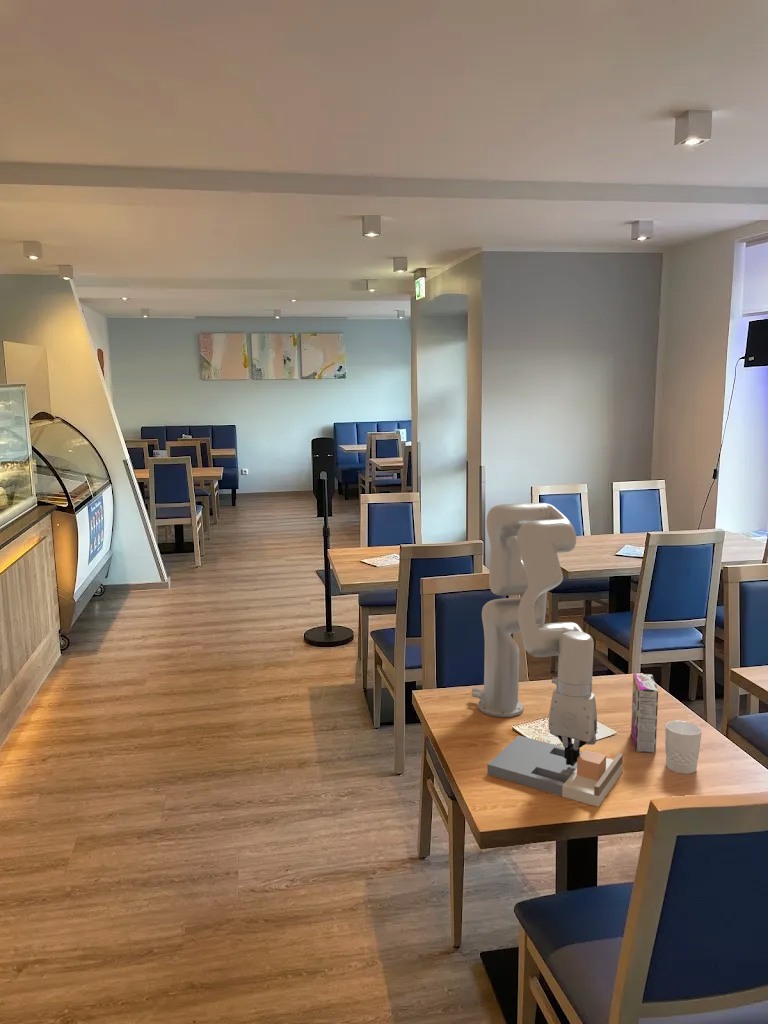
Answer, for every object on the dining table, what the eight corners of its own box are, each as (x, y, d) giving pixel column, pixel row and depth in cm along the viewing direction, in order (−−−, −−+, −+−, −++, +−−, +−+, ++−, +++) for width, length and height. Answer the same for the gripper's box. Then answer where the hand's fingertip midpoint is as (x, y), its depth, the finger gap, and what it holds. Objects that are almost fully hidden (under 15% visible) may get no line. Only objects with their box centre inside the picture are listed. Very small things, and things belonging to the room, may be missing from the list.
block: (576, 775, 169) (577, 758, 169) (584, 765, 173) (584, 749, 173) (598, 781, 167) (599, 764, 166) (605, 771, 171) (606, 755, 170)
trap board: (487, 774, 175) (487, 756, 174) (518, 744, 190) (518, 727, 189) (598, 807, 161) (599, 787, 160) (622, 772, 176) (623, 754, 175)
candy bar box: (629, 732, 196) (632, 672, 194) (649, 734, 195) (652, 673, 193) (634, 752, 186) (638, 688, 183) (656, 754, 185) (659, 690, 182)
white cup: (658, 759, 182) (660, 720, 180) (691, 759, 182) (694, 720, 180) (670, 775, 174) (672, 734, 173) (704, 775, 174) (707, 735, 172)
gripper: (536, 685, 171) (534, 761, 173) (602, 699, 162) (598, 778, 165) (549, 675, 177) (546, 748, 180) (612, 688, 169) (609, 765, 171)
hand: (571, 762), depth 172 cm, fingers closed
